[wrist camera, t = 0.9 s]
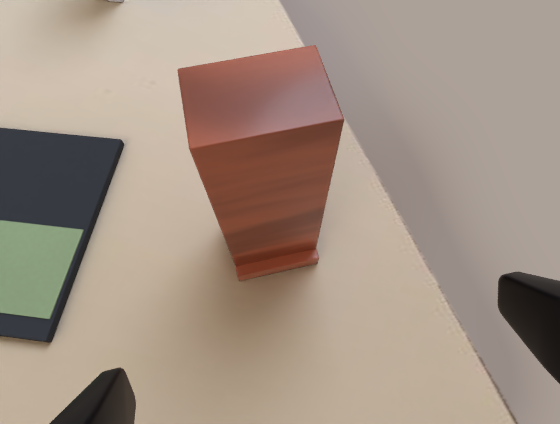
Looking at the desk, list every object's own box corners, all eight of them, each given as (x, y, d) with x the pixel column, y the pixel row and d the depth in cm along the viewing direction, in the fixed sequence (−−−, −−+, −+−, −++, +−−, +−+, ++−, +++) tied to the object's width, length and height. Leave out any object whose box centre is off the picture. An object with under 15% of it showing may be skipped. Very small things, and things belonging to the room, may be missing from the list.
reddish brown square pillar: (317, 263, 23) (351, 135, 12) (239, 281, 23) (191, 167, 11) (299, 197, 25) (311, 31, 14) (226, 212, 25) (175, 55, 13)
